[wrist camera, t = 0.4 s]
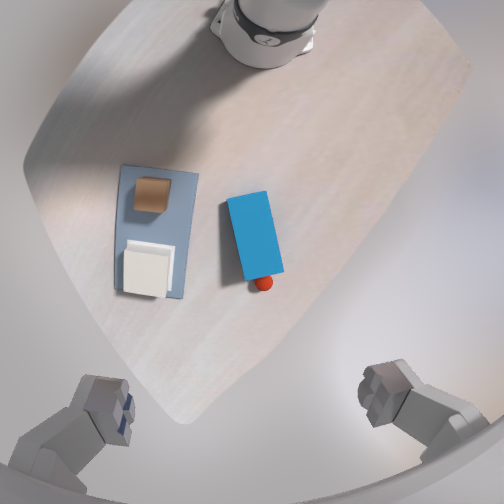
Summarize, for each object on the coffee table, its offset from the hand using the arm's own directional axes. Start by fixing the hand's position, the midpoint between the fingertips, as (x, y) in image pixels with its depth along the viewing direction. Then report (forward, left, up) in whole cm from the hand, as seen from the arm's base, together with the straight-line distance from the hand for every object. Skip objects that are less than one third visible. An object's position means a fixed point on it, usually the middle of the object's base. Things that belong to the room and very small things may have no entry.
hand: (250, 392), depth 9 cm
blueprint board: (+9, -11, -44) cm, 47 cm away
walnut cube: (+1, -11, -44) cm, 45 cm away
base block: (+15, -11, -43) cm, 47 cm away
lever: (+8, +8, -45) cm, 46 cm away
